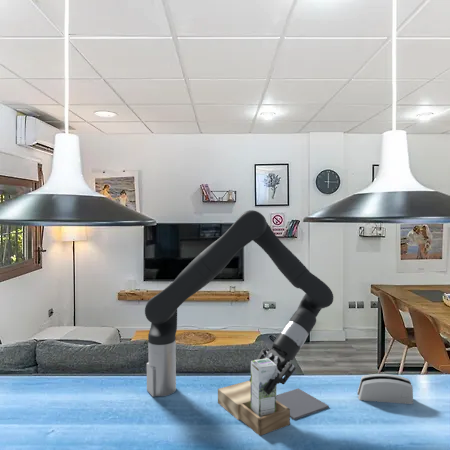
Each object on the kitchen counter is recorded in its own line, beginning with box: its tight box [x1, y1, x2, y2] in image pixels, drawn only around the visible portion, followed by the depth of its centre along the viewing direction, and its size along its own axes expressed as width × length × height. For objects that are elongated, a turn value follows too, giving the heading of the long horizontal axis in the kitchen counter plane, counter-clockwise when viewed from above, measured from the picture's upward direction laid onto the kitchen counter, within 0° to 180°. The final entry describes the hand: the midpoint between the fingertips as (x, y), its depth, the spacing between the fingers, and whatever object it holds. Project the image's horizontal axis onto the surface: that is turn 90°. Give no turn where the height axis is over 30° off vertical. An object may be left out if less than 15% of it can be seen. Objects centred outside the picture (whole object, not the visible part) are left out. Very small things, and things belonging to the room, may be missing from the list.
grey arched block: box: [357, 373, 414, 405], centre depth 122 cm, size 17×5×10 cm, turn 80°
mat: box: [276, 388, 330, 421], centre depth 120 cm, size 14×14×1 cm
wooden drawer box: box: [217, 380, 291, 436], centre depth 115 cm, size 22×12×4 cm, turn 31°
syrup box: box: [250, 358, 277, 417], centre depth 110 cm, size 6×6×14 cm
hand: (258, 387), depth 109 cm, fingers closed on syrup box, 6 cm apart
